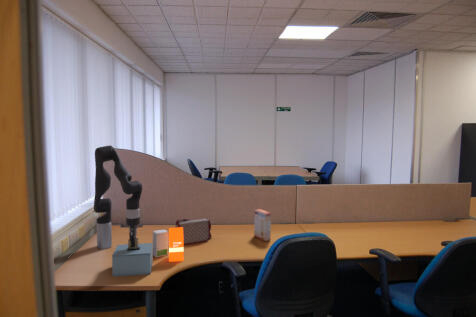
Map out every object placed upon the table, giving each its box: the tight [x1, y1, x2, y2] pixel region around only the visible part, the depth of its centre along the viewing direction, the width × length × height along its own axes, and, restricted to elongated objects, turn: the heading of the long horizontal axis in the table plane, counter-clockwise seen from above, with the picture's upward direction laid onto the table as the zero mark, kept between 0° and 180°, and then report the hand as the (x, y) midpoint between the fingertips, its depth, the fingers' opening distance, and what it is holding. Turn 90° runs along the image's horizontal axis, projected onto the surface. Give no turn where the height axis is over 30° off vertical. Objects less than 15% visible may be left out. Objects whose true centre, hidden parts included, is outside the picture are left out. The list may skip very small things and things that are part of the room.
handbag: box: [175, 217, 212, 246], centre depth 227 cm, size 28×11×17 cm, turn 120°
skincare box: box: [152, 229, 169, 258], centre depth 200 cm, size 8×7×16 cm
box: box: [111, 242, 154, 277], centre depth 179 cm, size 16×20×12 cm
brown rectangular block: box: [127, 237, 139, 249], centre depth 178 cm, size 3×5×5 cm, turn 101°
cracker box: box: [253, 208, 272, 242], centre depth 235 cm, size 14×6×21 cm, turn 29°
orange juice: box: [168, 227, 185, 263], centre depth 194 cm, size 8×9×20 cm
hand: (133, 245), depth 178 cm, fingers closed on brown rectangular block, 2 cm apart
